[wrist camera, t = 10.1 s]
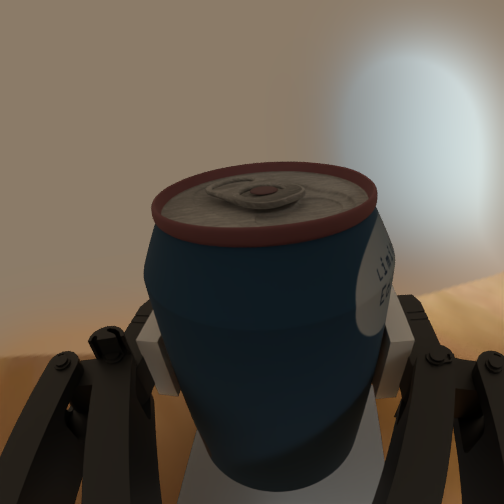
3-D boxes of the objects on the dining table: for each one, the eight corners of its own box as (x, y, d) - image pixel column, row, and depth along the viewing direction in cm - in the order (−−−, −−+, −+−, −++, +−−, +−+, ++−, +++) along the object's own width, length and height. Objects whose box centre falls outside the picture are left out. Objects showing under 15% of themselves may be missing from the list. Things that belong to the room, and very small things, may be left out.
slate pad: (371, 389, 19) (372, 384, 19) (388, 542, 10) (391, 540, 9) (210, 390, 21) (208, 386, 21) (171, 536, 11) (168, 534, 11)
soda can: (380, 431, 13) (441, 181, 8) (275, 529, 9) (239, 297, 4) (282, 366, 18) (269, 151, 12) (182, 432, 14) (97, 199, 9)
